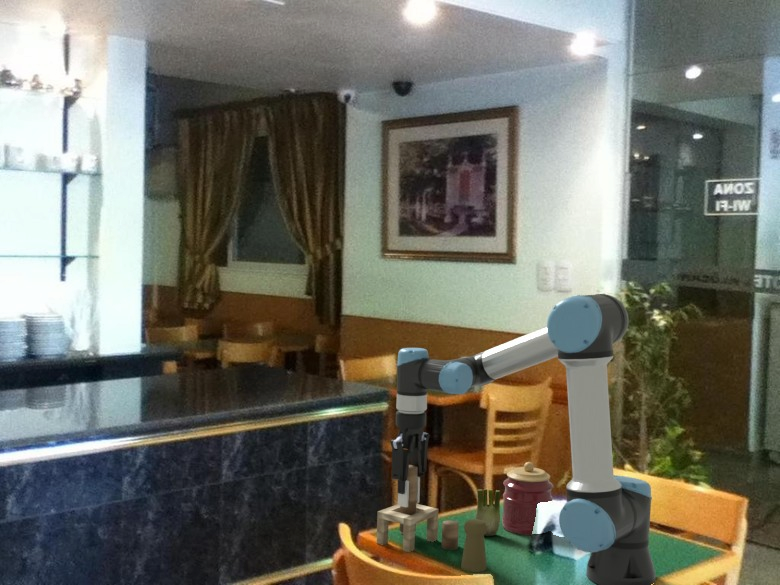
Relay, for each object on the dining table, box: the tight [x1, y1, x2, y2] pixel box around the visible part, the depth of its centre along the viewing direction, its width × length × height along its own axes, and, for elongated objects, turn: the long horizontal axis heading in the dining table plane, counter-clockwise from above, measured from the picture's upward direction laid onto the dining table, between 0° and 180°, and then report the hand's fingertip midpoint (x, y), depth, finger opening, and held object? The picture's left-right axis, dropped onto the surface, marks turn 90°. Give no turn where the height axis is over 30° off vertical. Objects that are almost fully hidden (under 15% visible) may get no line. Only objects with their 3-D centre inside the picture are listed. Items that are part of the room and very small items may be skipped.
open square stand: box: [376, 503, 439, 553], centre depth 236 cm, size 10×12×8 cm
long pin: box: [399, 464, 418, 533], centre depth 236 cm, size 4×4×16 cm
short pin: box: [441, 520, 460, 551], centre depth 233 cm, size 4×4×6 cm
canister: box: [501, 461, 554, 536], centre depth 250 cm, size 13×13×18 cm
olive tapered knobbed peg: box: [460, 518, 488, 573], centre depth 220 cm, size 6×6×11 cm
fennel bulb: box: [474, 488, 501, 537], centre depth 243 cm, size 6×5×12 cm
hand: (408, 503), depth 236 cm, fingers closed on long pin, 4 cm apart
